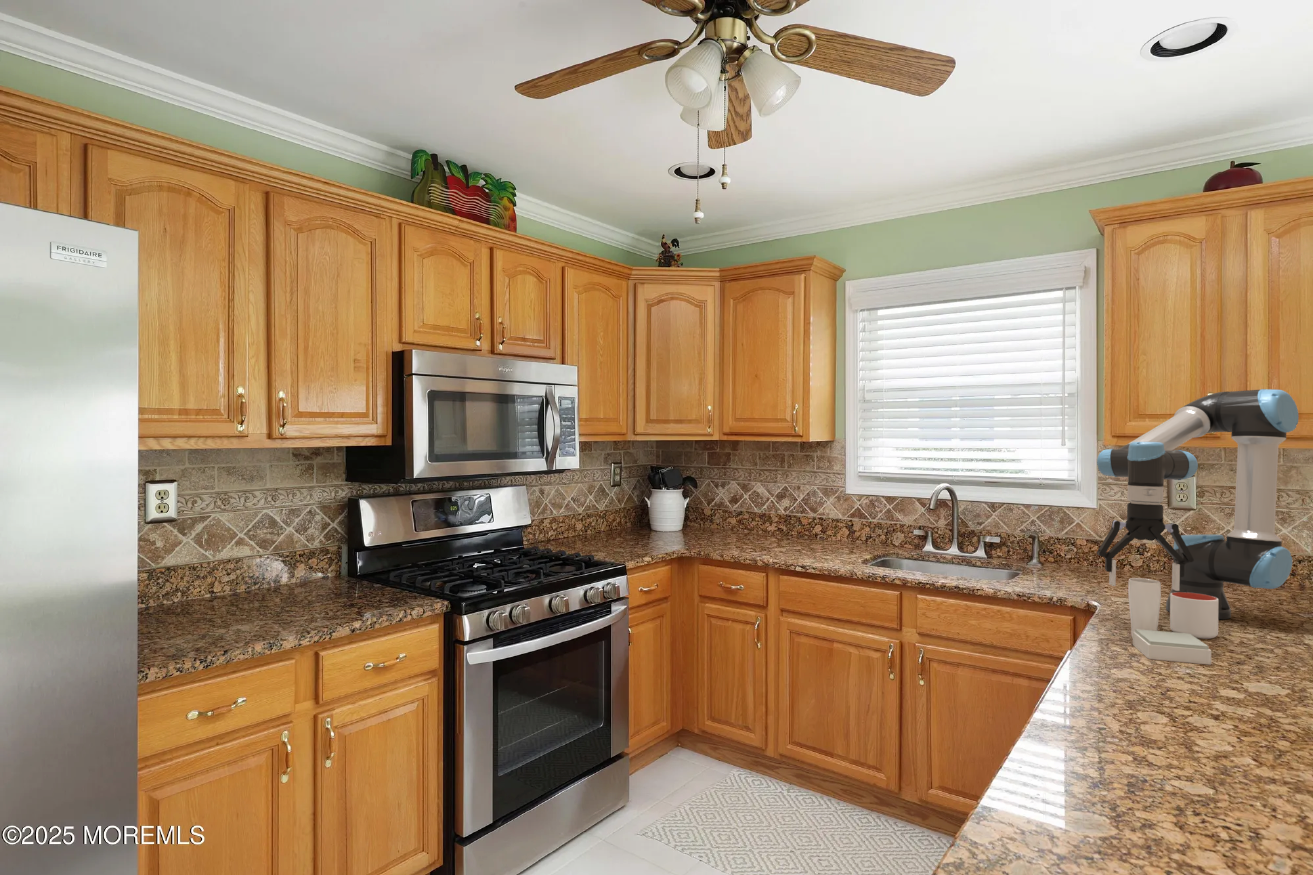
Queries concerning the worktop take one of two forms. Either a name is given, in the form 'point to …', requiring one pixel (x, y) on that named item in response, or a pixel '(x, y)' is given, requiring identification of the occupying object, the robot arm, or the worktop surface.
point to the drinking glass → (1144, 603)
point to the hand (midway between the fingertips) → (1143, 587)
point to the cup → (1194, 614)
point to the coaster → (1171, 646)
